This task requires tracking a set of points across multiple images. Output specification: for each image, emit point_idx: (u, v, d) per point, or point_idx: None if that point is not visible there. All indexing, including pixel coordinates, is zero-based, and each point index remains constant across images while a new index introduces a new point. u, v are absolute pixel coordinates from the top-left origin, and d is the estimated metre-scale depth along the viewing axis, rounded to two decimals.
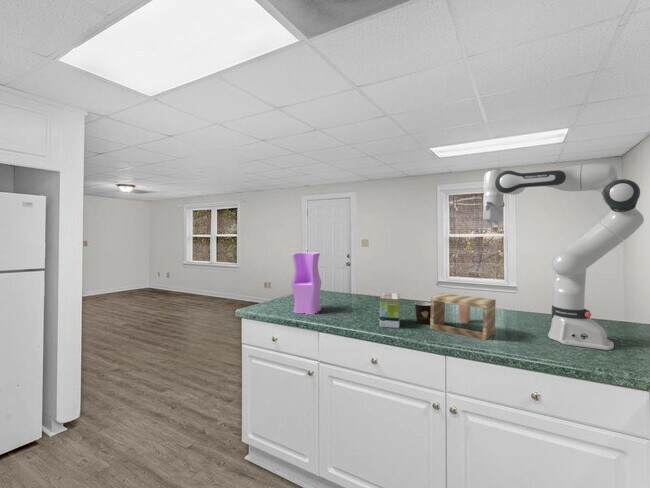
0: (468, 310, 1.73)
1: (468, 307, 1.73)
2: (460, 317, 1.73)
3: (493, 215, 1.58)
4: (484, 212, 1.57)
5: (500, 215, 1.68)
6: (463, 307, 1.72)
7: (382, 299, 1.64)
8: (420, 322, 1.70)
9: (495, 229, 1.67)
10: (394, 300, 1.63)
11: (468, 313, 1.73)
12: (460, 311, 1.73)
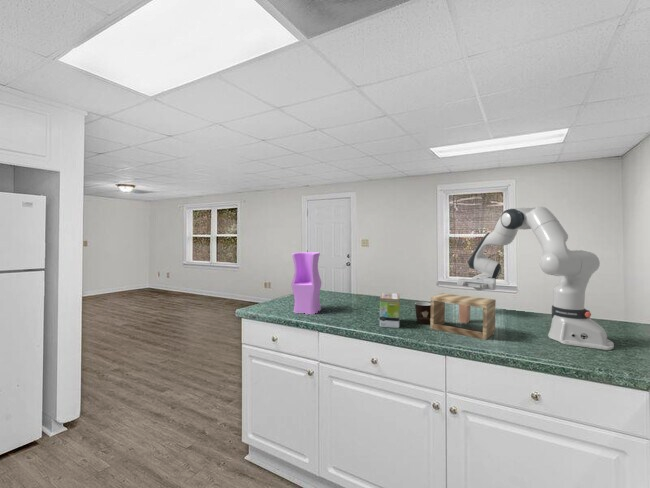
0: (468, 310, 1.73)
1: (468, 307, 1.73)
2: (460, 317, 1.73)
3: (465, 279, 1.92)
4: None
5: (489, 282, 1.84)
6: (463, 307, 1.72)
7: (382, 299, 1.64)
8: (420, 322, 1.70)
9: None
10: (394, 300, 1.63)
11: (468, 313, 1.73)
12: (460, 311, 1.73)
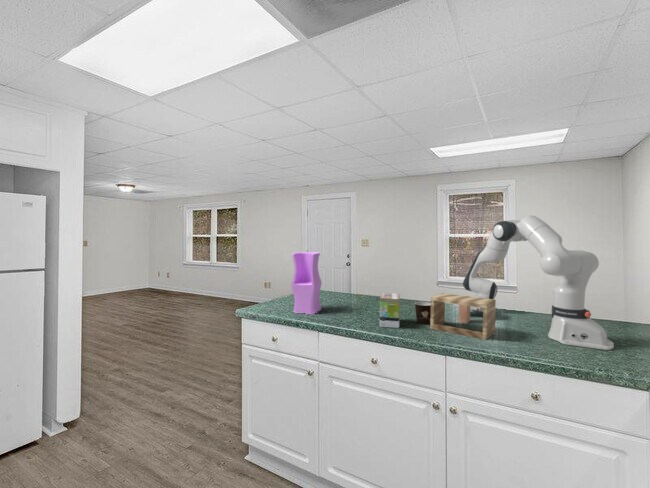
0: (468, 310, 1.73)
1: (468, 307, 1.73)
2: (460, 317, 1.73)
3: None
4: None
5: None
6: (463, 307, 1.72)
7: (382, 299, 1.64)
8: (420, 322, 1.70)
9: None
10: (394, 300, 1.63)
11: (468, 313, 1.73)
12: (460, 311, 1.73)
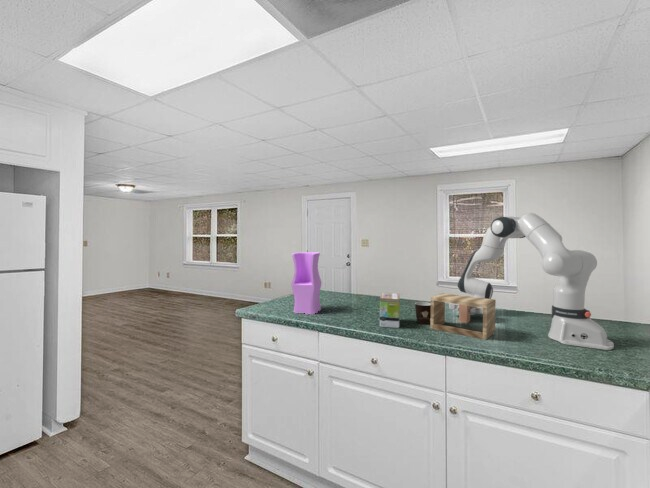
0: None
1: (468, 307, 1.73)
2: (460, 317, 1.73)
3: None
4: None
5: None
6: (463, 307, 1.72)
7: (382, 299, 1.64)
8: (420, 322, 1.70)
9: None
10: (394, 300, 1.63)
11: (468, 313, 1.73)
12: (460, 311, 1.73)
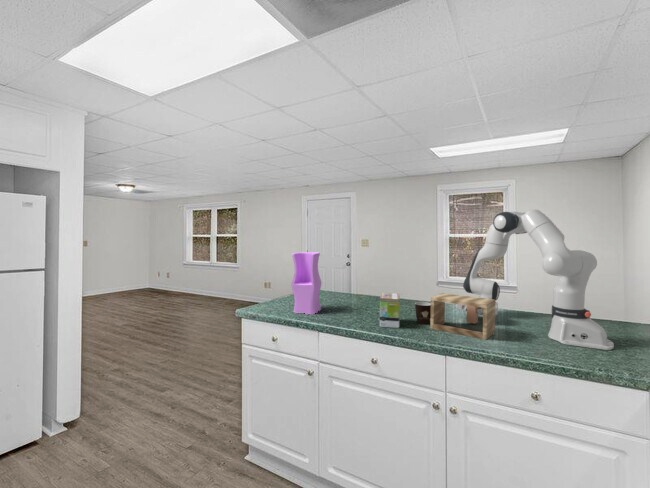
0: None
1: (476, 307, 1.68)
2: (468, 317, 1.69)
3: None
4: None
5: None
6: (471, 308, 1.68)
7: (382, 299, 1.64)
8: (420, 322, 1.70)
9: None
10: (394, 300, 1.63)
11: (476, 313, 1.68)
12: (468, 311, 1.69)
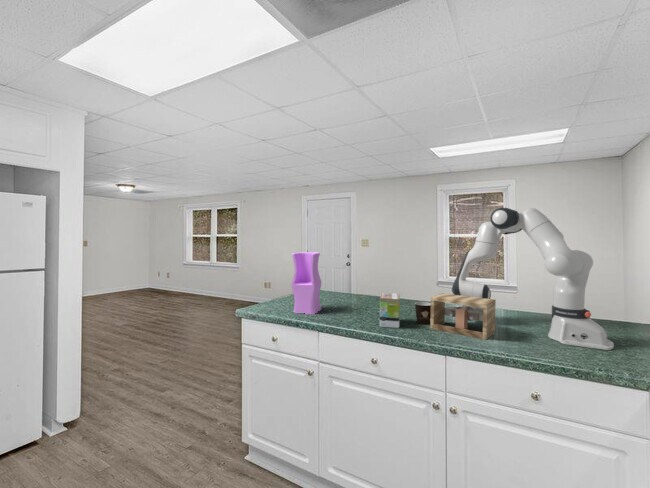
0: (465, 318, 1.56)
1: (465, 315, 1.56)
2: (456, 326, 1.57)
3: (454, 308, 1.66)
4: None
5: (481, 312, 1.58)
6: (459, 316, 1.56)
7: (382, 299, 1.64)
8: (420, 322, 1.70)
9: None
10: (394, 300, 1.63)
11: (465, 322, 1.56)
12: (456, 320, 1.57)
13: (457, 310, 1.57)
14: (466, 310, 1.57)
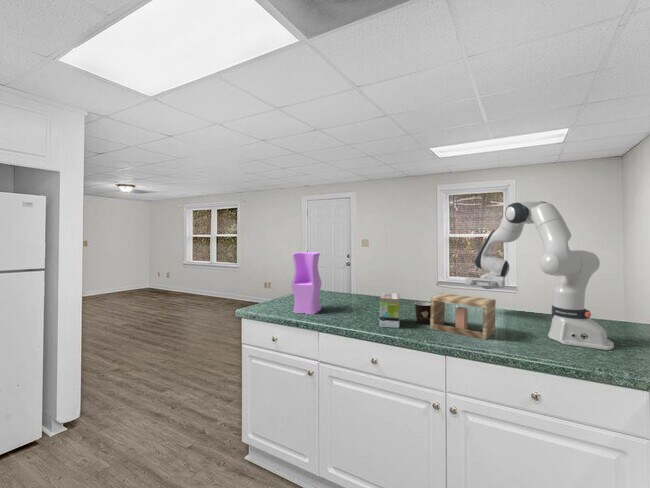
0: (465, 318, 1.56)
1: (465, 315, 1.56)
2: (456, 326, 1.57)
3: (473, 278, 1.88)
4: None
5: None
6: (460, 316, 1.56)
7: (382, 299, 1.64)
8: (420, 322, 1.70)
9: None
10: (394, 300, 1.63)
11: (465, 322, 1.56)
12: (456, 320, 1.57)
13: (457, 310, 1.57)
14: (466, 310, 1.57)
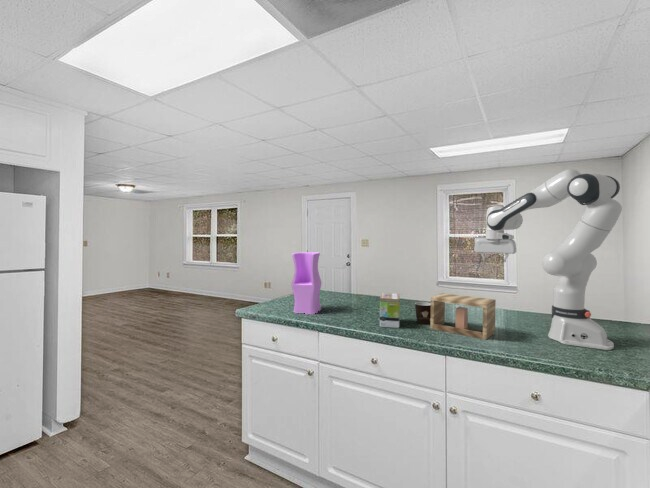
0: (465, 318, 1.56)
1: (465, 315, 1.56)
2: (456, 326, 1.57)
3: (482, 248, 1.81)
4: None
5: (508, 247, 1.73)
6: (460, 316, 1.56)
7: (382, 299, 1.64)
8: (420, 322, 1.70)
9: None
10: (394, 300, 1.63)
11: (465, 322, 1.56)
12: (456, 320, 1.57)
13: (457, 310, 1.57)
14: (466, 310, 1.57)
